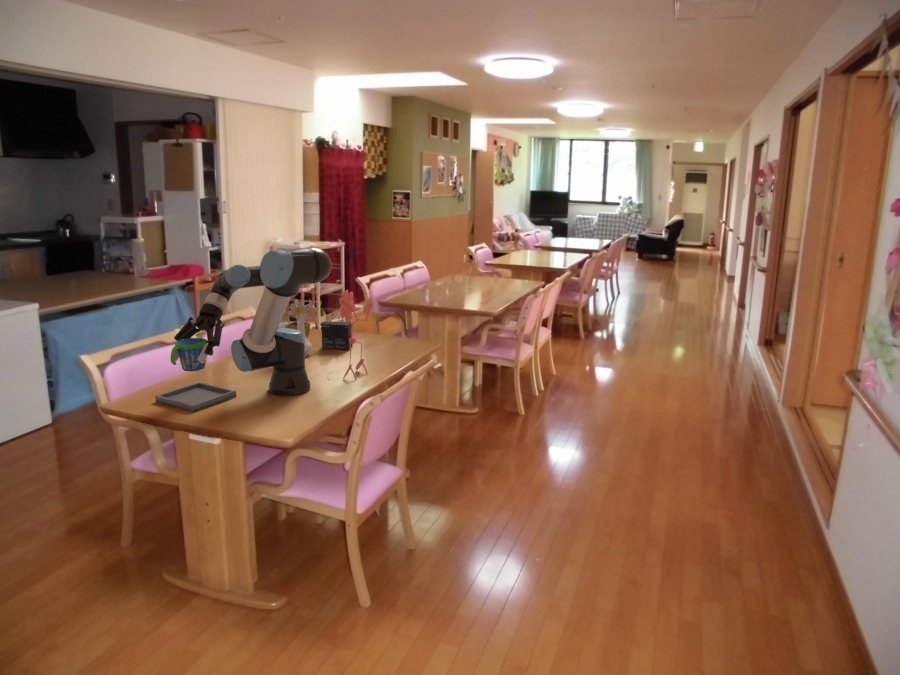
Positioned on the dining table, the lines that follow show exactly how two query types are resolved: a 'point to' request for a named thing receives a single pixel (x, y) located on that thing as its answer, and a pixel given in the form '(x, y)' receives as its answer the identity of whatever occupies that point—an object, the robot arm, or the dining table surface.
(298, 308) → the flower vase
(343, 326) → the small box
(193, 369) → the snack cup
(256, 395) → the dining table surface
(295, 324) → the flower pot
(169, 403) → the cup tray
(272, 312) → the robot arm
